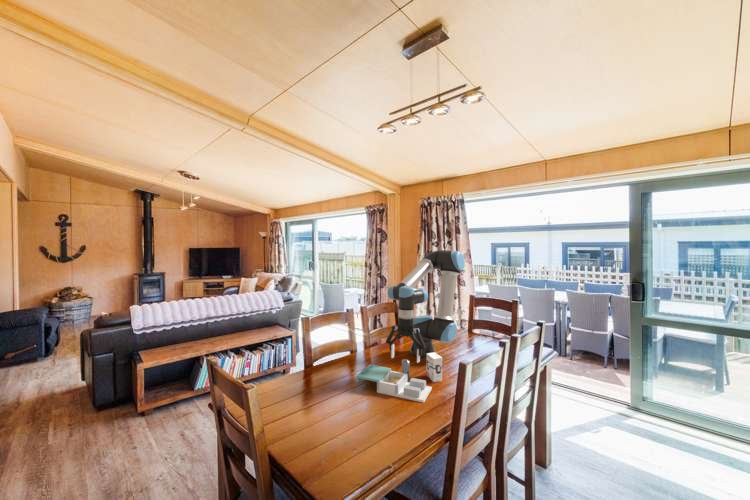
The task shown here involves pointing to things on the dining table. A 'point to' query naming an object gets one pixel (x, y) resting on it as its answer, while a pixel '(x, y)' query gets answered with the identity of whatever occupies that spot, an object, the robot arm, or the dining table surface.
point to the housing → (403, 387)
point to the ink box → (434, 367)
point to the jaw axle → (406, 367)
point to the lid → (373, 373)
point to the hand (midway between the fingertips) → (405, 359)
